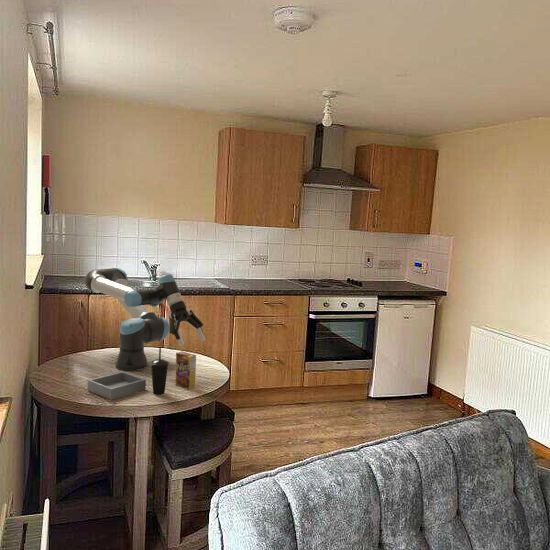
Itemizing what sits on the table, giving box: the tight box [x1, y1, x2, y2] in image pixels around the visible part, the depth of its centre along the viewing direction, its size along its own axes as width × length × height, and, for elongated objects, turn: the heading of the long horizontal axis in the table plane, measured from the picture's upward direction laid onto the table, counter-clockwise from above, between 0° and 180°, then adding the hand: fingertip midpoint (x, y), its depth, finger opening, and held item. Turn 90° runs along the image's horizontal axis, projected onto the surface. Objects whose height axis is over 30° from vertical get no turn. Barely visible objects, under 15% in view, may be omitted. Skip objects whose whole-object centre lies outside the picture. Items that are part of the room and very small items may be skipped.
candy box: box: [175, 350, 197, 390], centre depth 241 cm, size 9×4×15 cm, turn 54°
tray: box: [87, 371, 147, 401], centre depth 232 cm, size 16×18×4 cm
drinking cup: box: [150, 347, 170, 396], centre depth 230 cm, size 8×8×20 cm
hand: (193, 342), depth 258 cm, fingers open, 13 cm apart
